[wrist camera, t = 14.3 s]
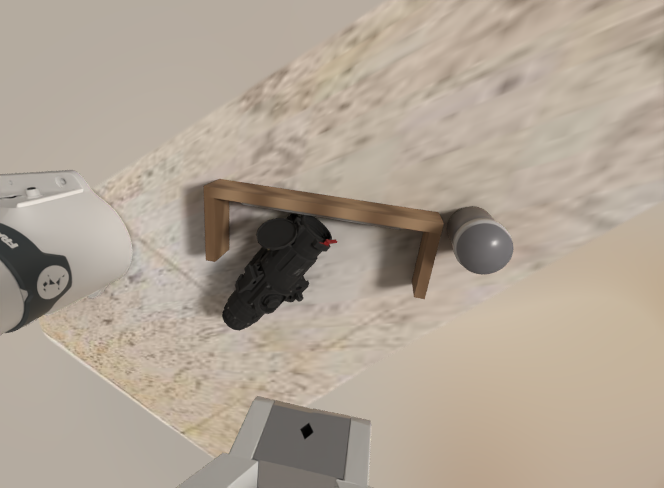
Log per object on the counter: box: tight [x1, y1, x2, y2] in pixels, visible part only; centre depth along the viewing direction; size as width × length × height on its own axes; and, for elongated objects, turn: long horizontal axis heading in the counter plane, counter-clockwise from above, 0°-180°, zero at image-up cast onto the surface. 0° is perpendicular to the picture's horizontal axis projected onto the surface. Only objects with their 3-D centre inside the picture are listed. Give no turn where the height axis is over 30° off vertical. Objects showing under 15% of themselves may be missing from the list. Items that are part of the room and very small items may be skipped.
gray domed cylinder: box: [447, 206, 513, 274], centre depth 37 cm, size 5×5×7 cm
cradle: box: [204, 179, 444, 299], centre depth 41 cm, size 26×9×4 cm, turn 83°
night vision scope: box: [222, 213, 337, 330], centre depth 42 cm, size 8×18×10 cm
